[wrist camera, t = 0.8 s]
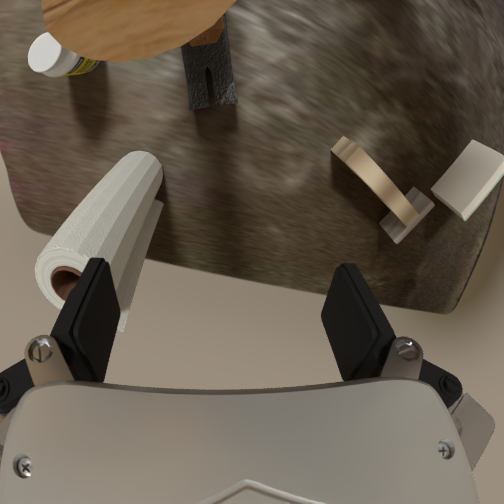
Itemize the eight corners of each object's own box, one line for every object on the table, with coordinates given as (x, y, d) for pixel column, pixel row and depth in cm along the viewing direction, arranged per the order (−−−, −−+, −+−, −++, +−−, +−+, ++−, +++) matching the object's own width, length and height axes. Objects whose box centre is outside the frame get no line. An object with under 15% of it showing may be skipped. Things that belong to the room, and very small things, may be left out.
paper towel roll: (116, 150, 32) (22, 247, 14) (164, 149, 33) (102, 251, 15) (120, 202, 36) (53, 326, 18) (164, 203, 37) (123, 335, 19)
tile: (472, 139, 34) (506, 156, 28) (476, 147, 35) (509, 166, 28) (430, 188, 39) (460, 213, 32) (435, 196, 40) (465, 221, 33)
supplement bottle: (94, 79, 26) (53, 85, 18) (60, 68, 24) (14, 74, 16) (113, 38, 24) (76, 30, 16) (77, 28, 22) (34, 21, 14)
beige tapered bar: (316, 165, 36) (328, 179, 32) (356, 120, 32) (375, 129, 28) (381, 226, 42) (397, 244, 38) (416, 190, 39) (434, 205, 35)
